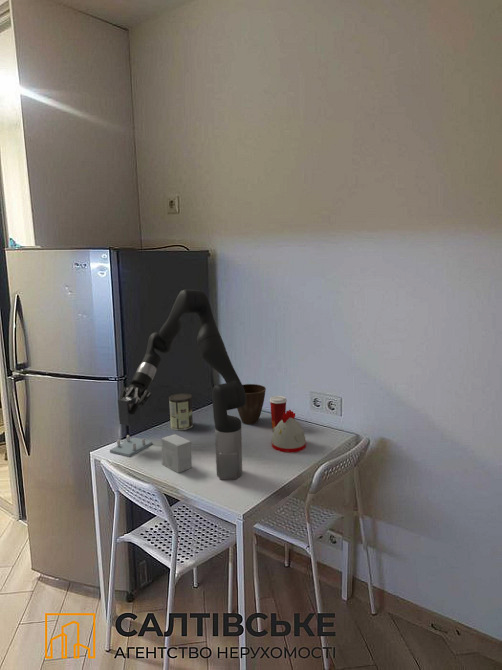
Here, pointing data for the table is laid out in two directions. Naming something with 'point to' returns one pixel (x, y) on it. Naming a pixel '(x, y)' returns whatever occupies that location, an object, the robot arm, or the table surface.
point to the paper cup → (277, 409)
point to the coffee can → (181, 411)
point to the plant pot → (252, 403)
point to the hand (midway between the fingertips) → (126, 412)
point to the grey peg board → (130, 446)
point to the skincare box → (176, 453)
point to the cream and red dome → (288, 434)
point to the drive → (127, 411)
